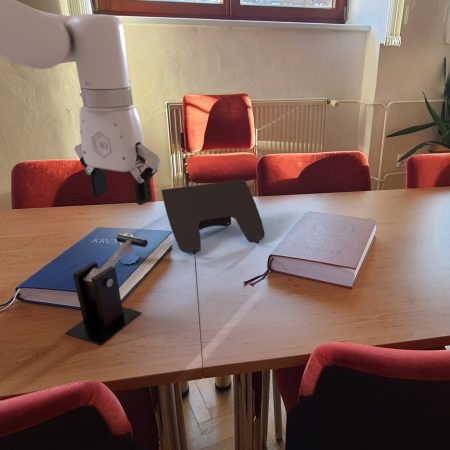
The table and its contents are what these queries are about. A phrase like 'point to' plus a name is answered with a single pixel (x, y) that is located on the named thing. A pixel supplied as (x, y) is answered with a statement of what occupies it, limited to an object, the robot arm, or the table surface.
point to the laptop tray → (211, 211)
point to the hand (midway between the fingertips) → (122, 198)
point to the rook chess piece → (127, 235)
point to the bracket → (100, 306)
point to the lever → (115, 256)
